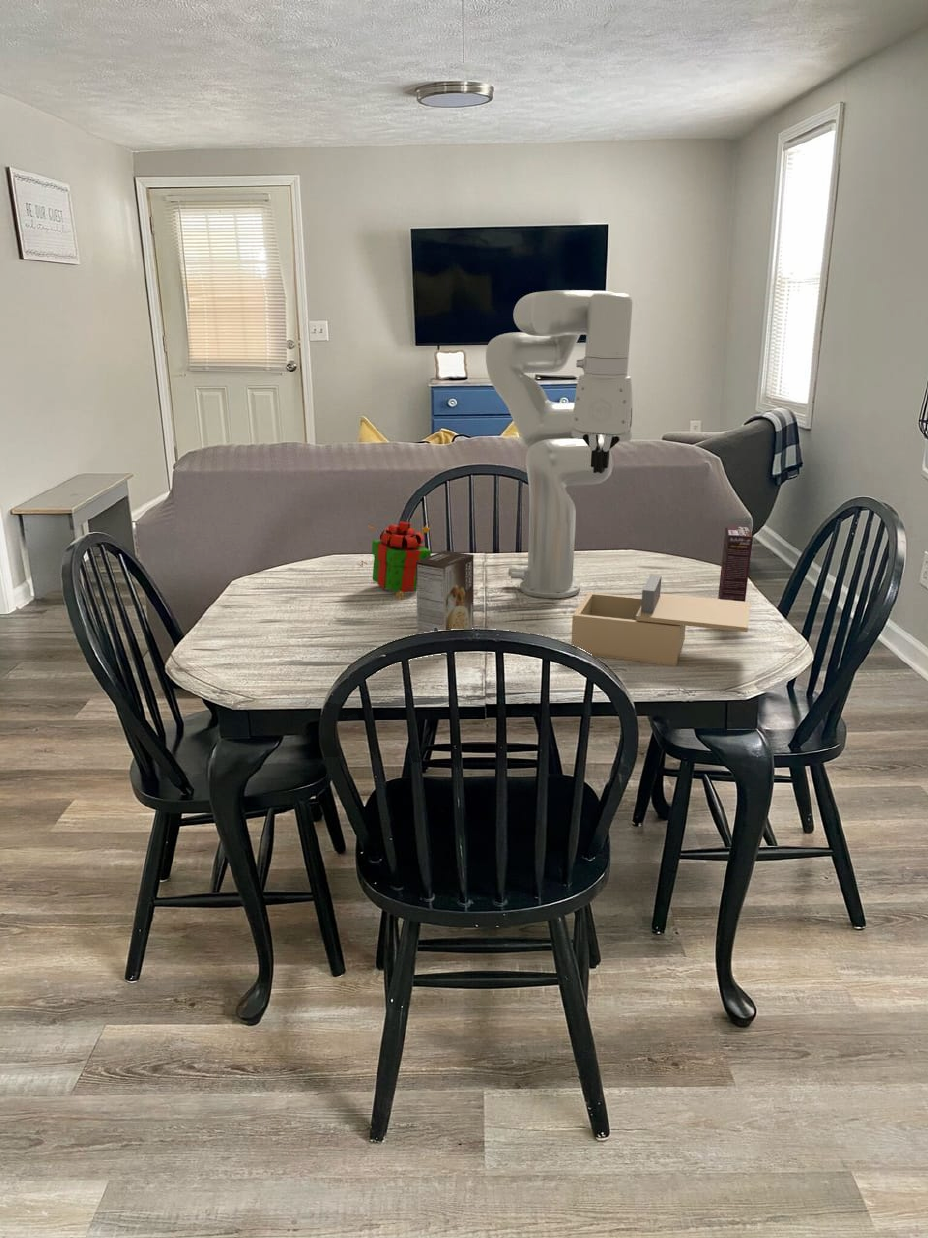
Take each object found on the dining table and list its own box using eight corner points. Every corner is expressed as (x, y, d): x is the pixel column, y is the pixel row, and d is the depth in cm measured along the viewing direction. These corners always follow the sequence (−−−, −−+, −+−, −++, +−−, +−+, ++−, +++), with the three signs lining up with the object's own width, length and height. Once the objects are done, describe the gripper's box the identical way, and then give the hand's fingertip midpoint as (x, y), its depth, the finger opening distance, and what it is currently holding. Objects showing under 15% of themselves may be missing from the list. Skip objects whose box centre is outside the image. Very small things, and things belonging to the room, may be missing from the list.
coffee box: (444, 634, 170) (444, 549, 165) (474, 640, 167) (475, 554, 162) (416, 649, 163) (414, 560, 157) (446, 656, 160) (446, 566, 154)
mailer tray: (570, 653, 161) (572, 615, 159) (586, 627, 174) (588, 592, 171) (676, 666, 156) (679, 626, 153) (684, 638, 168) (687, 602, 166)
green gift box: (453, 598, 197) (462, 532, 192) (376, 604, 186) (383, 534, 182) (405, 571, 212) (412, 509, 207) (331, 574, 201) (337, 509, 197)
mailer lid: (635, 620, 155) (637, 593, 154) (647, 596, 168) (648, 571, 166) (747, 632, 150) (750, 604, 149) (750, 606, 163) (753, 580, 161)
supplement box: (744, 616, 181) (753, 536, 175) (719, 614, 182) (727, 535, 176) (741, 602, 189) (749, 526, 183) (717, 601, 190) (724, 525, 184)
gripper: (559, 367, 161) (554, 472, 167) (645, 371, 157) (637, 479, 163) (568, 364, 168) (563, 465, 174) (652, 367, 163) (643, 471, 170)
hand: (599, 471), depth 169 cm, fingers closed
